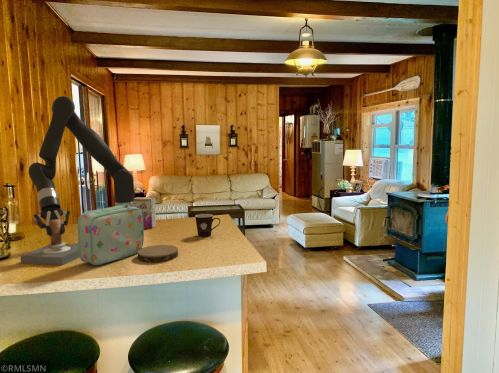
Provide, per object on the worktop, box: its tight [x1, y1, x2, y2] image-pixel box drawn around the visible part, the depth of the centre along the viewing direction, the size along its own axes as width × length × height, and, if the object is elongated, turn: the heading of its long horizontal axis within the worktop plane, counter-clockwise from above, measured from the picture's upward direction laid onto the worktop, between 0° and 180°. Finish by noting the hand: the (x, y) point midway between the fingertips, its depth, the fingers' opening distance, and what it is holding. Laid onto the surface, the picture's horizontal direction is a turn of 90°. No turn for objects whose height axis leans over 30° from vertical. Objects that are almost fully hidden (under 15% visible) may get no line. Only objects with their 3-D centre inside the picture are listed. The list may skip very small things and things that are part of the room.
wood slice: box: [137, 244, 179, 264], centre depth 150 cm, size 16×16×3 cm
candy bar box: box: [134, 196, 157, 229], centre depth 204 cm, size 11×5×16 cm, turn 77°
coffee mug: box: [194, 213, 221, 238], centre depth 183 cm, size 12×9×10 cm
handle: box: [47, 219, 66, 249], centre depth 150 cm, size 6×6×11 cm
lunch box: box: [77, 204, 145, 266], centre depth 148 cm, size 27×10×21 cm, turn 149°
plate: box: [20, 243, 80, 266], centre depth 151 cm, size 18×18×3 cm
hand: (56, 234), depth 148 cm, fingers closed on handle, 4 cm apart
